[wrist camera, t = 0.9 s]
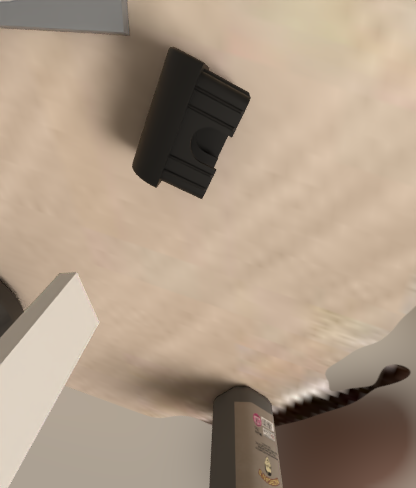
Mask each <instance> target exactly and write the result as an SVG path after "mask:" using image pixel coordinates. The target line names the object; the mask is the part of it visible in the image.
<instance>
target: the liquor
mask: <svg viewBox="0 0 416 488" xmlns="http://www.w3.org/2000/svg"><path fill="white" fill-rule="evenodd" d="M212 428H213V429H212V447H211V467H210V487H209V488H283V486H282V479H281V473H280V465H279V457H278V450H277V442H276V435H275V427H274V420H273V412H272V405H271V403H270V401H269V400H268V399H267V398H265V397H264V396H262V395H261V394H259V393H258V392H256V391H254V390H253V389H251V388H250V387H234V388H232V389H230V390H229V391H227V392H225V393H224V394H222V395H220V396H218V397H217V398H216V399H215V401H214V405H213V425H212Z"/></svg>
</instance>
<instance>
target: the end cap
mask: <svg viewBox="0 0 416 488" xmlns="http://www.w3.org/2000/svg"><path fill="white" fill-rule="evenodd" d="M250 98H251V97H250V95H249V92H247V91H245V90H243V89H242V88H240V87H238V86H236V85H234V84H232V83H231V82H229V81H227V80H225V79H223V78H222V77H220V76H218V75H216V74H214V73H213V72H211V71H209V67H208V66H207V65H206V64H205V63H204V62H202V61H200V60H198V59H196V58H195V57H193V56H191V55H189V54H187V53H185V52H183V51H181V50H179V49H177V48H175V47H170V48H169V50H168V53H167V56H166V60H165V63H164V66H163V69H162V72H161V75H160V78H159V82H158V85H157V88H156V91H155V94H154V97H153V101H152V104H151V107H150V110H149V113H148V116H147V119H146V123H145V126H144V129H143V132H142V135H141V138H140V141H139V145H138V148H137V151H136V154H135V157H134V160H133V164H132V167H133V170H134V172H135V173H136V174H137V175H138V176H139V177H140V178H141V179H142V180H144V181H145V182H147V183H148V184H150V185H152V186H154V187H156V188H157V186H158V185H159V184H160V182H161V181H164V182H166V183H168V184H170V185H173V186H175V187H177V188H179V189H181V190H183V191H185V192H188V193H190V194H192V195H194V196H196V197H198V198H200V199H202V198H203V196H204V194H205V192H206V190H207V188H208V186H209V184H210V182H211V180H212V178H213V176H214V174H215V172H216V169H215V168H214V166H215V164H216V162H217V160H218V156H219V154H220V152H221V150H222V147H223V145H224V143H225V141H226V139H227V137H228V136H230V137H232V136H233V134H234V132H235V130H236V128H237V126H238V124H239V122H240V120H241V118H242V116H243V114H244V112H245V110H246V108H247V105H248V103H249V101H250Z"/></svg>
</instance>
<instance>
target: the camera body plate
mask: <svg viewBox="0 0 416 488" xmlns="http://www.w3.org/2000/svg"><path fill="white" fill-rule="evenodd" d="M0 28H8V29H25V30H43V31H60V32H77V33H95V34H112V35H129V36H130V34H129V20H128V6H127V0H0Z"/></svg>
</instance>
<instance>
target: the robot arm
mask: <svg viewBox="0 0 416 488" xmlns="http://www.w3.org/2000/svg"><path fill="white" fill-rule="evenodd" d="M98 324H99V320H98V318H97V316H96V314H95V311H94V309H93V307H92V305H91V302H90V300H89V298H88V296H87V293H86V291H85V289H84V287H83V285H82V282H81V280H80V278H79V276H78V273H77V272H73V273H59V274H58V275H57V276H56V278H55V279H54V280H53V281H52V282H51V283H50V284H49V285H48V286H47V287H46V288H45V290H44V291H43V292H42V293H41V294H40V295H39V296H38V297H37V298H36V299H35V300H34V302H33V303H32V304H31V305H30V306H29V307H28V308H27V309H26V310H25V311H23V308H22V306H21V304H20V302H19V301H18V299H17V298H16V296H15V295H14V294H13V293H12V292H11V291H10V290H9V289H8V288H7V287H6V286H5V285H4V284H3V283H1V282H0V488H8V487H9V485H10V483H11V481H12V479H13V477H14V476H15V474H16V472H17V470H18V469H19V467H20V465H21V463H22V461H23V459H24V458H25V456H26V454H27V452H28V451H29V449H30V447H31V445H32V443H33V441H34V440H35V438H36V436H37V434H38V433H39V431H40V429H41V427H42V425H43V423H44V422H45V420H46V418H47V416H48V414H49V413H50V411H51V409H52V407H53V405H54V404H55V402H56V400H57V398H58V396H59V394H60V393H61V391H62V389H63V387H64V386H65V384H66V382H67V380H68V378H69V376H70V375H71V373H72V371H73V369H74V367H75V366H76V364H77V362H78V360H79V358H80V357H81V355H82V353H83V351H84V349H85V348H86V346H87V344H88V342H89V340H90V339H91V337H92V335H93V333H94V331H95V329H96V328H97V326H98Z"/></svg>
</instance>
